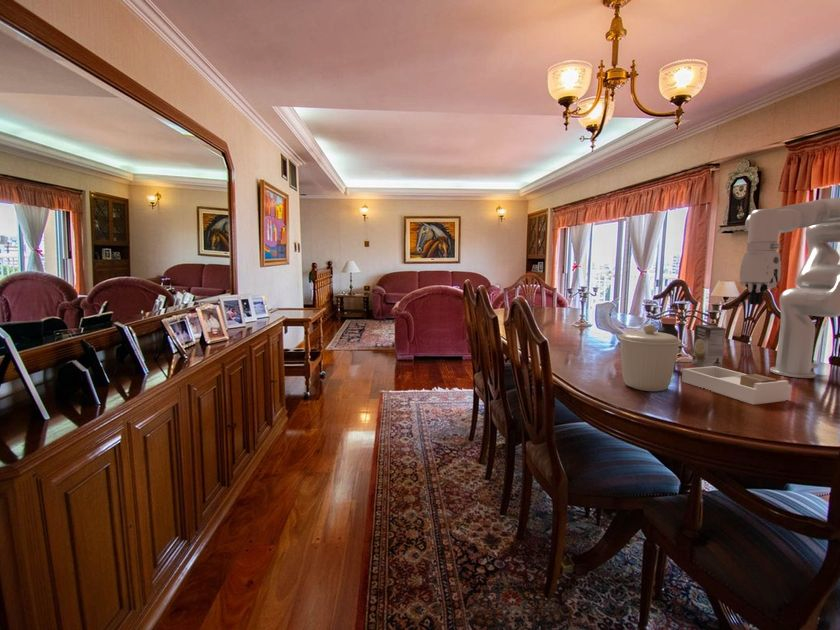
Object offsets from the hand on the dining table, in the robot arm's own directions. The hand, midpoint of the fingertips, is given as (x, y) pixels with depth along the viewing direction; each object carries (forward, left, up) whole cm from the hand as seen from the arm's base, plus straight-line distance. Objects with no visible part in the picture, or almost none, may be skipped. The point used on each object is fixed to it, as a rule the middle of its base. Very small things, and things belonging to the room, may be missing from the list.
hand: (755, 304), depth 136 cm
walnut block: (+12, +12, -24) cm, 30 cm away
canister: (+36, -6, -27) cm, 46 cm away
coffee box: (-8, -22, -27) cm, 36 cm away
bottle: (+11, -23, -27) cm, 37 cm away
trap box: (+12, +4, -27) cm, 30 cm away
